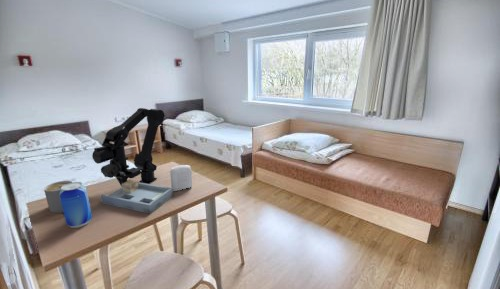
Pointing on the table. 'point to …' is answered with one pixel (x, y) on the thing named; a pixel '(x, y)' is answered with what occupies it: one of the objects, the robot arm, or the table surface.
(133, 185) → the beech block
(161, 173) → the table surface
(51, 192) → the coffee mug
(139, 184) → the box
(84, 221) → the beer can
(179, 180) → the photo printer
